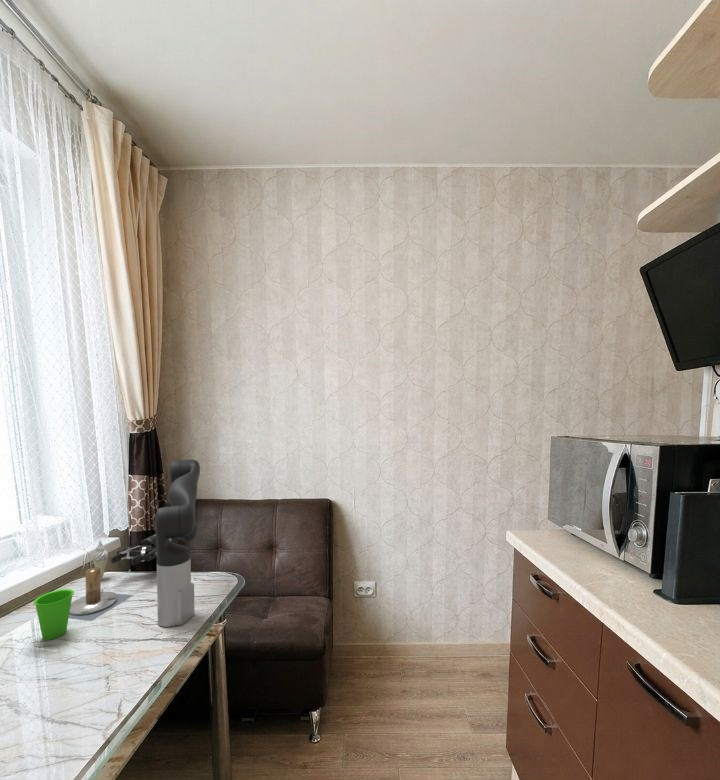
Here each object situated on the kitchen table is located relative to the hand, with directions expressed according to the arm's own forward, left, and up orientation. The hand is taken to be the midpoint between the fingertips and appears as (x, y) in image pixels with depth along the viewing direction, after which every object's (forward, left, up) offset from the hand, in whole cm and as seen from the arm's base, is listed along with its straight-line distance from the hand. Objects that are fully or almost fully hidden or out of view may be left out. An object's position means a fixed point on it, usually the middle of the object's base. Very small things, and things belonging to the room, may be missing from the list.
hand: (121, 561), depth 140 cm
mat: (0, +12, -10) cm, 15 cm away
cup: (-4, +28, -10) cm, 30 cm away
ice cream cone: (+14, -4, -10) cm, 18 cm away
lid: (0, +12, -9) cm, 15 cm away
